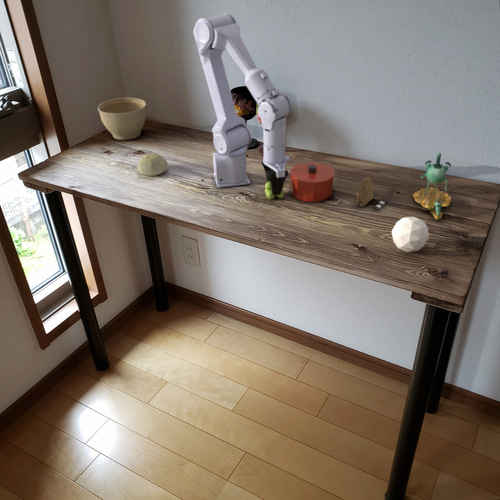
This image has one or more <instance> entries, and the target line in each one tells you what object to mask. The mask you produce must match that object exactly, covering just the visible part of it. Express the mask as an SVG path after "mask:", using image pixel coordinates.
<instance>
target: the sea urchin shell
mask: <svg viewBox="0 0 500 500" xmlns="http://www.w3.org/2000/svg"><path fill="white" fill-rule="evenodd" d="M168 168H169V164H168V161H167V159H166V158H165V157H164V156H162V155H161V154H158V153H149V154H146V155H144V156H142V157H141V158H140V159H139V160H138V162H137V165H136V169H137V172H138V173H139V174H140V175H143V176H148V177H156V176H157V175H159V176H160V175H161V174H163V173H165V172H166V171H167V170H168Z"/></svg>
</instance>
